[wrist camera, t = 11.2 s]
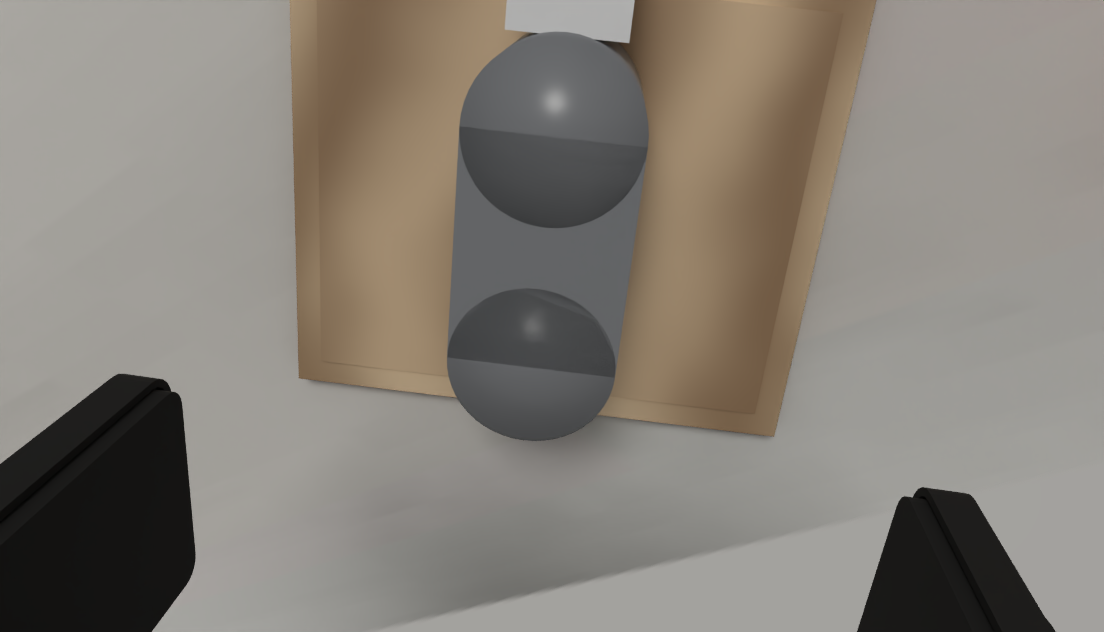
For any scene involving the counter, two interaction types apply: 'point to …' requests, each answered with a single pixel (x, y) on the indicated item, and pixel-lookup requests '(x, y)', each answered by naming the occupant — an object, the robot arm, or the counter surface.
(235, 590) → the counter surface
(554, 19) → the usb stick
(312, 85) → the board
